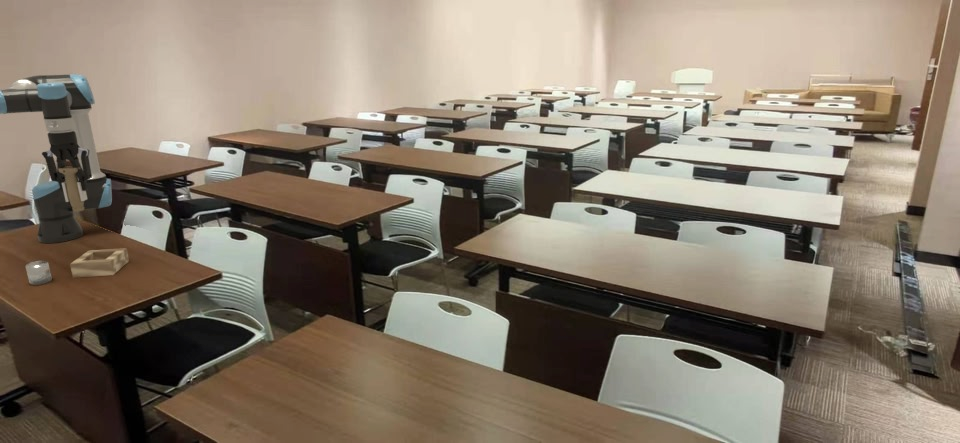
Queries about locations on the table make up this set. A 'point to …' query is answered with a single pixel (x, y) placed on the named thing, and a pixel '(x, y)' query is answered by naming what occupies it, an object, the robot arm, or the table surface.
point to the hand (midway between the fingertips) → (76, 200)
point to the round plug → (38, 272)
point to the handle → (72, 187)
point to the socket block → (99, 262)
